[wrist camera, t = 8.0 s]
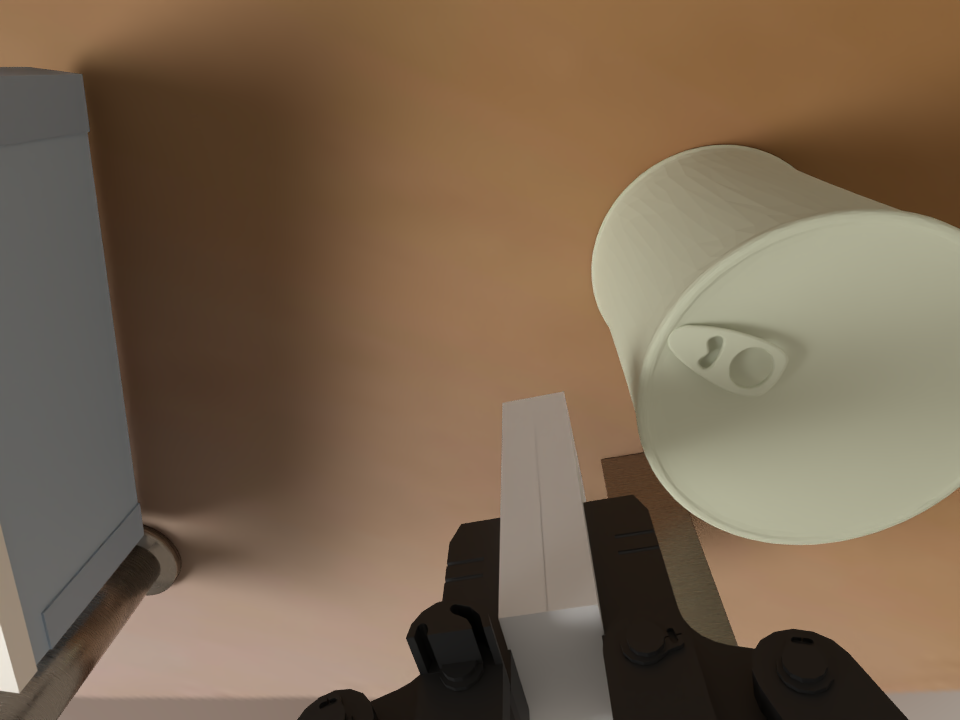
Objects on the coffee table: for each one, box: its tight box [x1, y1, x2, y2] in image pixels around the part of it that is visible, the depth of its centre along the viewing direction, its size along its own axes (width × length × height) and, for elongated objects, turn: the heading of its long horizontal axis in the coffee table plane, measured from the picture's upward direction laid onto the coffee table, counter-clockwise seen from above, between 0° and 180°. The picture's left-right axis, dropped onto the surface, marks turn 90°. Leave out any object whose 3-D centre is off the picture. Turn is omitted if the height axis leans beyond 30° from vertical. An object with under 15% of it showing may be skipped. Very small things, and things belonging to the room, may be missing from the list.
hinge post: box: [0, 526, 181, 720], centre depth 29 cm, size 4×4×13 cm
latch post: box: [601, 453, 738, 646], centre depth 25 cm, size 5×8×13 cm, turn 103°
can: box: [591, 145, 960, 545], centre depth 20 cm, size 9×9×12 cm
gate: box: [0, 67, 144, 693], centre depth 24 cm, size 22×2×9 cm, turn 173°
